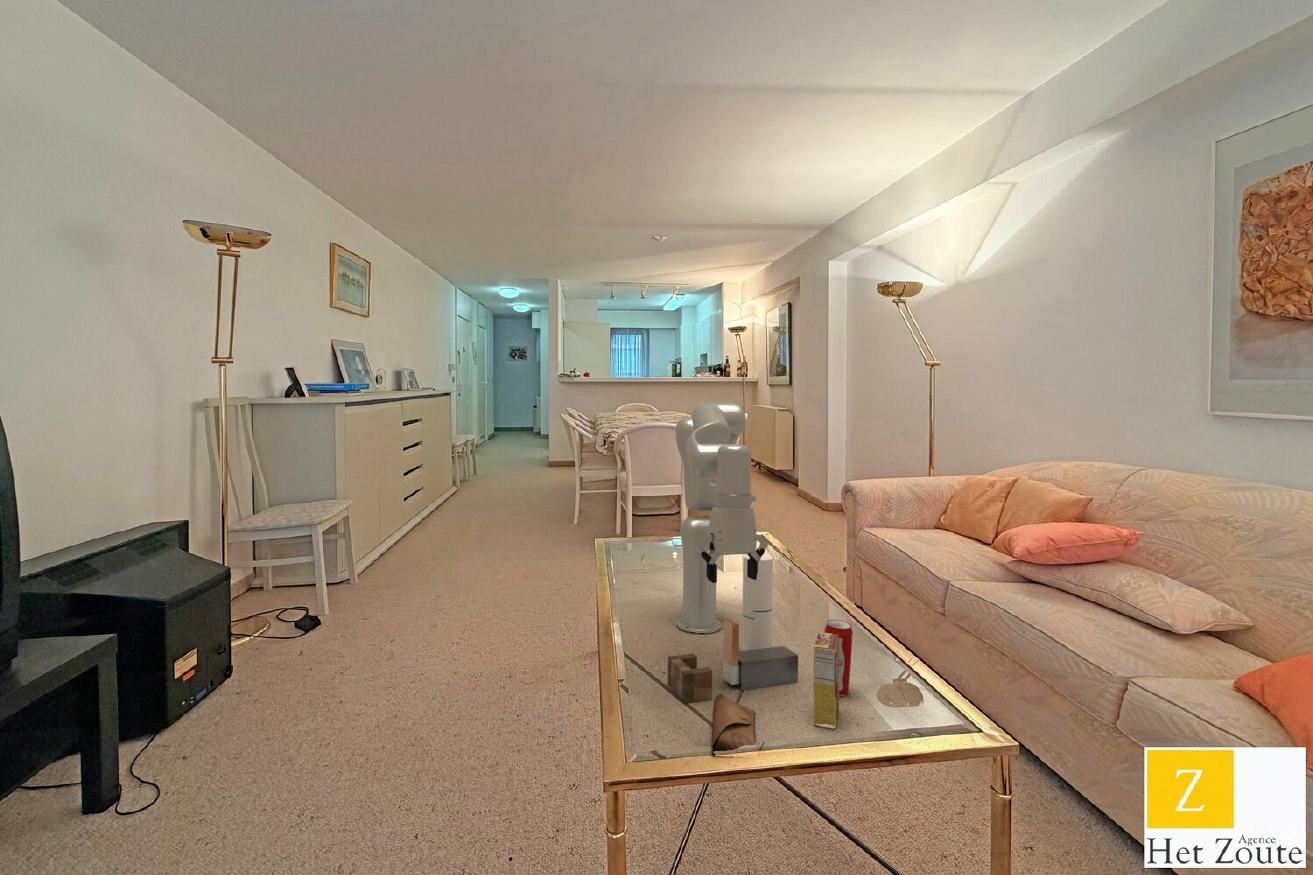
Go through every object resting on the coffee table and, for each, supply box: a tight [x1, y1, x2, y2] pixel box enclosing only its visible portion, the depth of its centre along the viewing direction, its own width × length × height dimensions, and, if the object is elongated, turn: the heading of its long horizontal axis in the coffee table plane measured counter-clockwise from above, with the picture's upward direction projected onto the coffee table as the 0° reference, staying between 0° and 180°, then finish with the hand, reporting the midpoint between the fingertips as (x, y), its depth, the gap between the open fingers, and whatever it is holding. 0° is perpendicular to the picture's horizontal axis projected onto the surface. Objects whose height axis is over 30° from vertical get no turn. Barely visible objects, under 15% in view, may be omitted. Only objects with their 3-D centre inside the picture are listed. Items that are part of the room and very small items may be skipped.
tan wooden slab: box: [722, 618, 741, 686], centre depth 130 cm, size 4×14×13 cm, turn 110°
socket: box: [667, 653, 713, 704], centre depth 125 cm, size 10×6×6 cm, turn 20°
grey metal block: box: [735, 645, 799, 691], centre depth 131 cm, size 6×14×6 cm, turn 109°
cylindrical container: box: [741, 554, 774, 651], centre depth 144 cm, size 7×7×25 cm
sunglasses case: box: [711, 693, 757, 753], centre depth 108 cm, size 18×7×7 cm, turn 174°
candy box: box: [813, 632, 840, 726], centre depth 114 cm, size 9×4×15 cm, turn 158°
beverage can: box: [823, 619, 854, 697], centre depth 126 cm, size 6×6×15 cm
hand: (732, 579), depth 128 cm, fingers open, 9 cm apart
